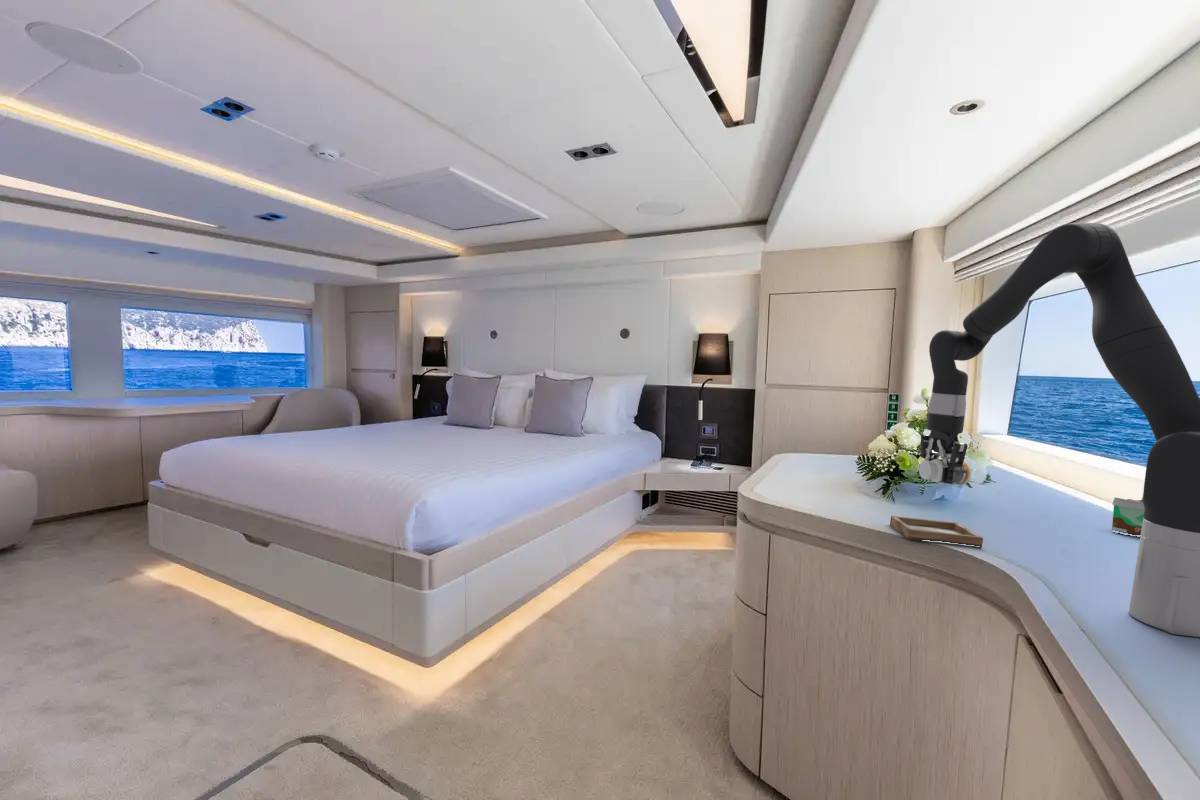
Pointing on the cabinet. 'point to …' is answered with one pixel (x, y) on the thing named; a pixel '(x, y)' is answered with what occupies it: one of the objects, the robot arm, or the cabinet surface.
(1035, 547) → the cabinet surface
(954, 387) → the robot arm
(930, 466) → the pill bottle
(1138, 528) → the food container
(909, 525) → the tray
